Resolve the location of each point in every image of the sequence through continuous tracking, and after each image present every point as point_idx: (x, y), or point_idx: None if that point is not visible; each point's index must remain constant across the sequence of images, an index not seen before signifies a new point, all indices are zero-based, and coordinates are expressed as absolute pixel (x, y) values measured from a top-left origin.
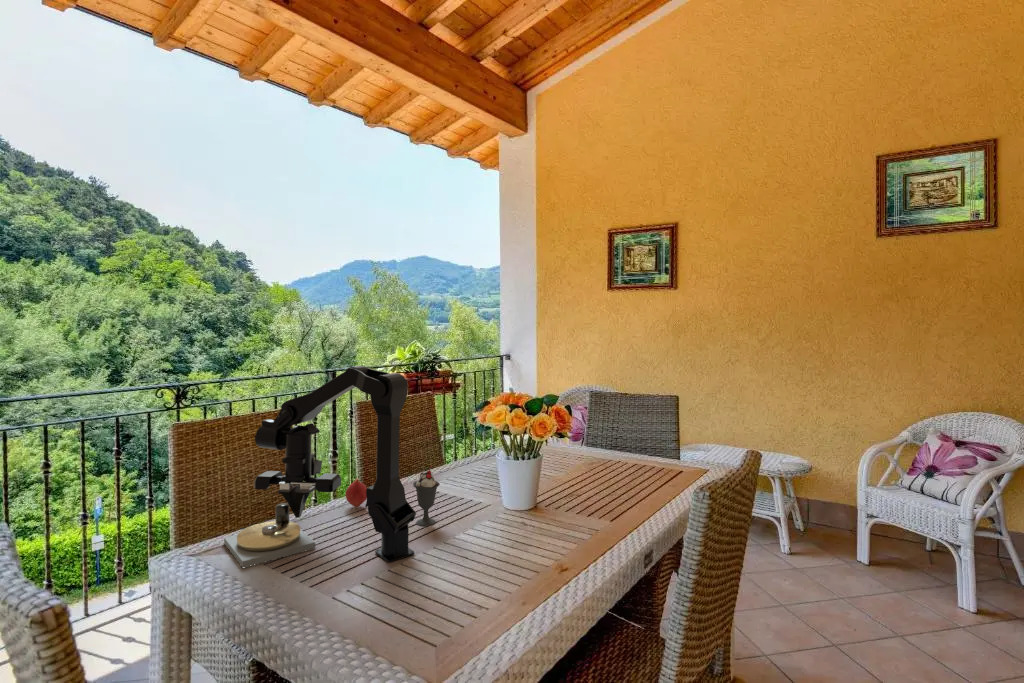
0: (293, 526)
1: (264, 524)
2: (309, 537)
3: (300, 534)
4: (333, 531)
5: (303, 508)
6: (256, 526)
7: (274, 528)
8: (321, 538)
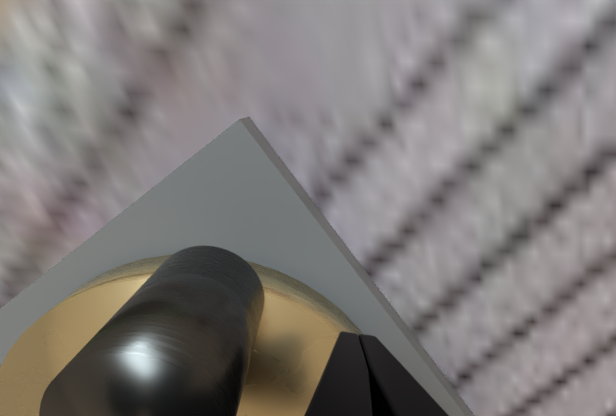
0: None
1: (86, 339)
2: (447, 395)
3: None
4: (565, 193)
5: (423, 396)
6: (48, 373)
7: None
8: (492, 297)
